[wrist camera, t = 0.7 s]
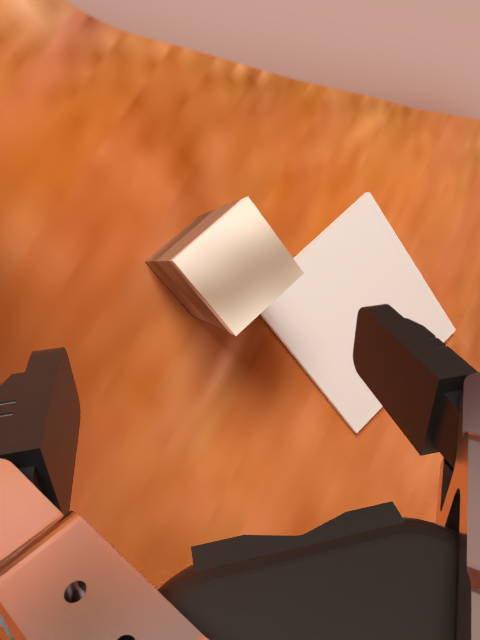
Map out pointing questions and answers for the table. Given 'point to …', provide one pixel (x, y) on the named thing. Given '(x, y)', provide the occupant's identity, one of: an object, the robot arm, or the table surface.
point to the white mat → (350, 303)
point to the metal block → (226, 266)
